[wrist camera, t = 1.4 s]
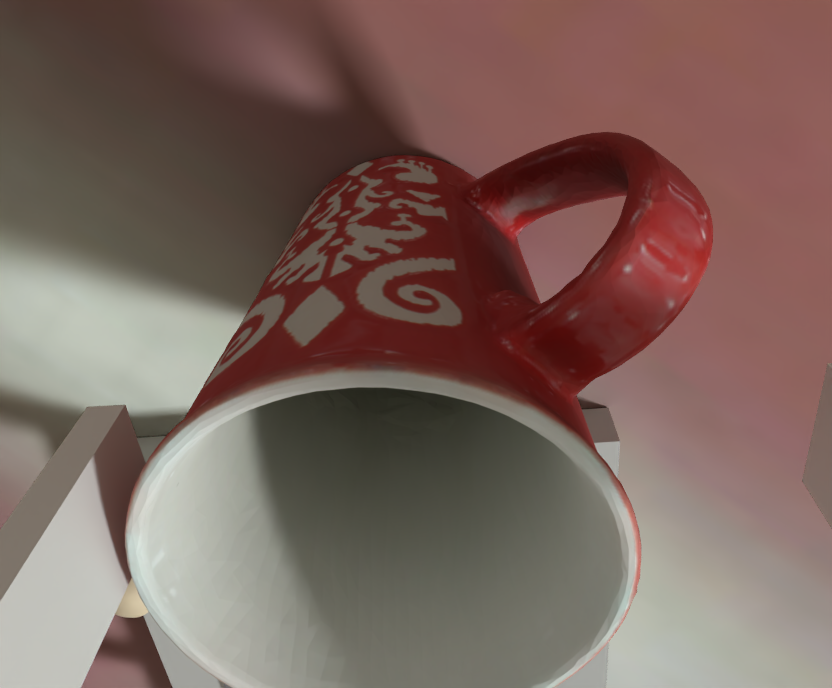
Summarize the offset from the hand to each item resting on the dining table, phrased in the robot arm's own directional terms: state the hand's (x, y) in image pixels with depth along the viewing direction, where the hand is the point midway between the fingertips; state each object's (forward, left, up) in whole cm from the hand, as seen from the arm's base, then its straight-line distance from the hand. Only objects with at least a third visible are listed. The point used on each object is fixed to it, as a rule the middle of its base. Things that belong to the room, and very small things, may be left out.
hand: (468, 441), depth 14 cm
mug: (0, 0, -11) cm, 11 cm away
